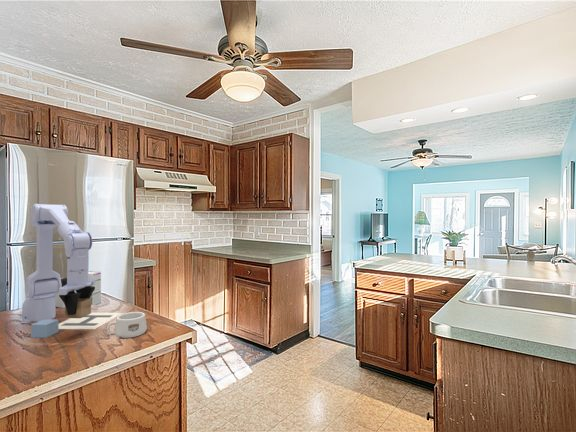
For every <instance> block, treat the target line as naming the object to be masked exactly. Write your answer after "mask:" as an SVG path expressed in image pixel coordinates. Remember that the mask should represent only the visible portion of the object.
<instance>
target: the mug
mask: <svg viewBox="0 0 576 432" xmlns="http://www.w3.org/2000/svg"><path fill="white" fill-rule="evenodd" d="M115 319H116V320H115V321H110V322H109V323H108V324H107V326H106V332H107V333H108V334H110V335H115V336H118V338H120V339H129V338H135V337H138V336H141V335H144V334H145V333H146V331H147V327H148V326H147V319H146V314H145V313H144V312H141V311H130V312H124V313H122V314H120V315H118V316H116V317H115ZM112 325H114V326H115V327H114V331H111V330H110V328H111V326H112Z"/></svg>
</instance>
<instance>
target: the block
mask: <svg viewBox="0 0 576 432" xmlns="http://www.w3.org/2000/svg"><path fill="white" fill-rule="evenodd" d="M64 309H65V310H64V318H65V319H70V318H82V317H84V316H87V315H89V314H91V313H92V305H91V298H79V299H78V303H77V311H76V314H75V315H68V313H67V310H66V307H65V308H64Z"/></svg>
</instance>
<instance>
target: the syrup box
mask: <svg viewBox="0 0 576 432" xmlns="http://www.w3.org/2000/svg"><path fill="white" fill-rule="evenodd" d="M88 279H95V285H91V286H94V287H95V290H94V291H93V293H92V295H91V297H90V298H91V306H95V305H98V304H101V303H102V271H100V270H88Z"/></svg>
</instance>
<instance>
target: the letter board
mask: <svg viewBox="0 0 576 432" xmlns="http://www.w3.org/2000/svg"><path fill="white" fill-rule="evenodd" d="M121 314H123V312H91V314H89V315H87V316H84V317H82V318H67V319H66V320H64V321H62V322H59V328H58V330H96V329H98V328H99V327H101V326H103V325H104V324H106V323H108V322H111V321H112V320H113V319H116V318H117V316H119V315H121Z"/></svg>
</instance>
